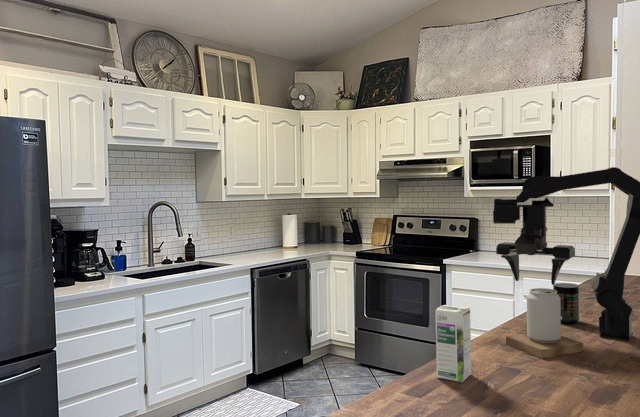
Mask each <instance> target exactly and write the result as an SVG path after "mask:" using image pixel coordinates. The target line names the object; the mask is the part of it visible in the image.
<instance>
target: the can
mask: <svg viewBox="0 0 640 417" xmlns="http://www.w3.org/2000/svg"><path fill="white" fill-rule="evenodd" d="M528 290H529V291H528V294H527V295H526V333H527V336H529V337H530V338H531V340H533V341H536V342H541V343H554V342H557V340H559V339H560V338H561V336H562V324H561V310H560V297H559V296H558V295H557V291H556V290H553V288H545V287H544V288H543V287H537V288H536V287H535V288H530V289H528Z"/></svg>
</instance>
